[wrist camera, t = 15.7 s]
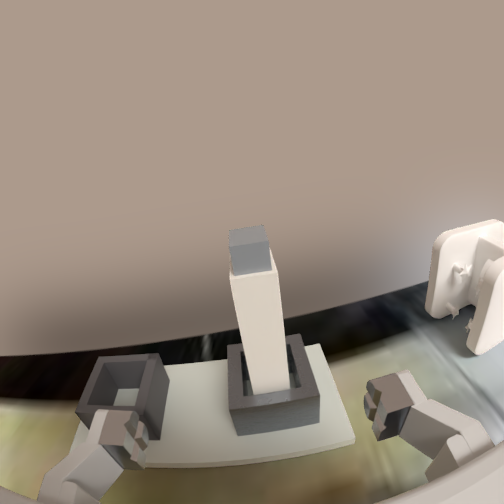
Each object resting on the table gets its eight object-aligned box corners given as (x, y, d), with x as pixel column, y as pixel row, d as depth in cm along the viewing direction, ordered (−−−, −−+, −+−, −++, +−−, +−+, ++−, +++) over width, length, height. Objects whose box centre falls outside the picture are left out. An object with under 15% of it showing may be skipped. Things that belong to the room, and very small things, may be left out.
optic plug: (258, 416, 24) (223, 250, 18) (255, 385, 28) (225, 229, 22) (292, 410, 24) (274, 242, 18) (285, 380, 28) (266, 222, 22)
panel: (73, 459, 20) (46, 429, 18) (104, 374, 32) (87, 343, 30) (354, 443, 21) (361, 410, 19) (319, 350, 33) (318, 314, 31)
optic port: (237, 436, 23) (228, 409, 21) (234, 374, 30) (227, 345, 28) (319, 422, 23) (320, 394, 21) (301, 363, 30) (299, 333, 29)
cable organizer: (489, 289, 36) (502, 215, 31) (536, 322, 26) (559, 241, 21) (420, 319, 34) (432, 233, 29) (471, 369, 24) (501, 272, 20)
